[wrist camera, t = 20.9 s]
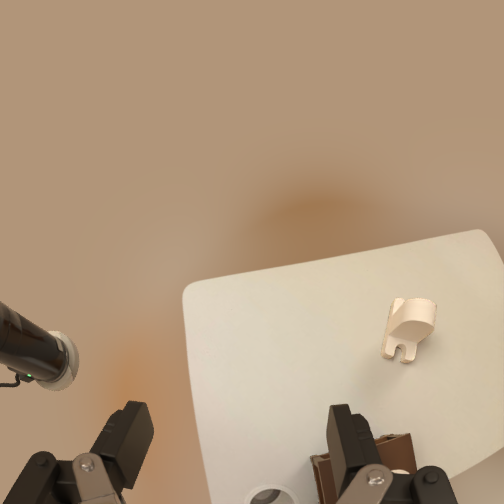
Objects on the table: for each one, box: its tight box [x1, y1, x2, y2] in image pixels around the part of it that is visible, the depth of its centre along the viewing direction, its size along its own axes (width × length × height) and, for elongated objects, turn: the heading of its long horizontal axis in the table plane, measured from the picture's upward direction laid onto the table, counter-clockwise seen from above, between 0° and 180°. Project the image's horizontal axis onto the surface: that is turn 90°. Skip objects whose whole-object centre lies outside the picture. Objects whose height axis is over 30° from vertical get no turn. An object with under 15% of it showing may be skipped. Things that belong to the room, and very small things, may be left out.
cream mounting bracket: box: [381, 298, 437, 363], centre depth 42 cm, size 5×10×10 cm, turn 159°
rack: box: [310, 433, 417, 504], centre depth 32 cm, size 12×9×9 cm
